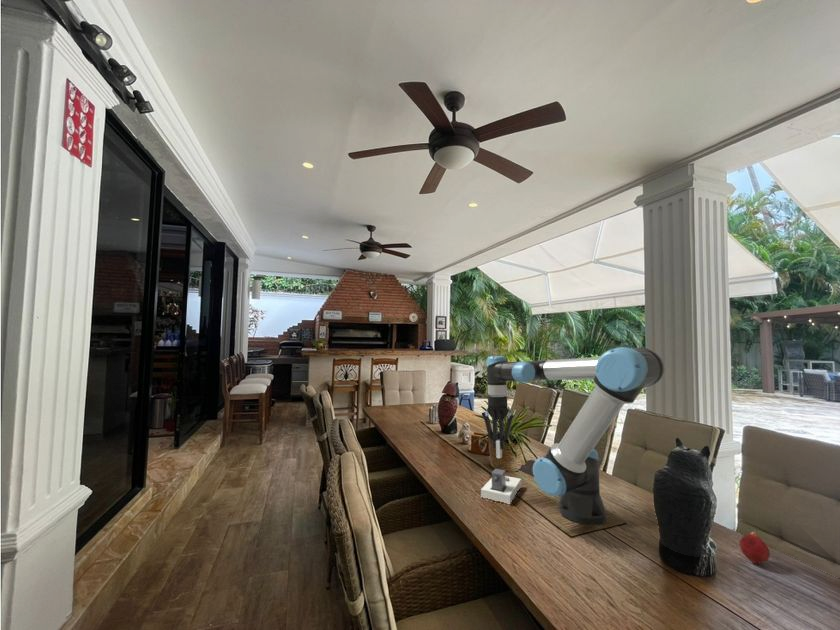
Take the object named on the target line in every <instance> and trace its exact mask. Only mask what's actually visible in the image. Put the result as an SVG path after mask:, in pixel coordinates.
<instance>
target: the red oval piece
mask: <svg viewBox="0 0 840 630" xmlns="http://www.w3.org/2000/svg"><path fill="white" fill-rule="evenodd" d="M739 548H740V550H741V552H742V554H743V555H744V557H746V558H747V559H748V560H749V561H751V562H752V563H753V564H756V565H758V564H761V563H765V562H767V561H768V560H769V558H770V554H771V552H770V549H769V546H767V544H766V543H765V542H764V541H763V540H762V539H761V538H760V537H759V536H758V533H756V532H755V531H752V532H750V533H749V534H746V535H744V536H743V537H741V539H740V540H739Z"/></svg>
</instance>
